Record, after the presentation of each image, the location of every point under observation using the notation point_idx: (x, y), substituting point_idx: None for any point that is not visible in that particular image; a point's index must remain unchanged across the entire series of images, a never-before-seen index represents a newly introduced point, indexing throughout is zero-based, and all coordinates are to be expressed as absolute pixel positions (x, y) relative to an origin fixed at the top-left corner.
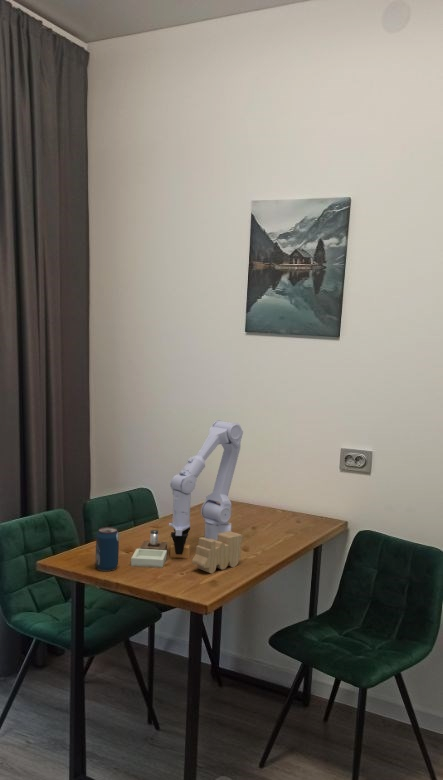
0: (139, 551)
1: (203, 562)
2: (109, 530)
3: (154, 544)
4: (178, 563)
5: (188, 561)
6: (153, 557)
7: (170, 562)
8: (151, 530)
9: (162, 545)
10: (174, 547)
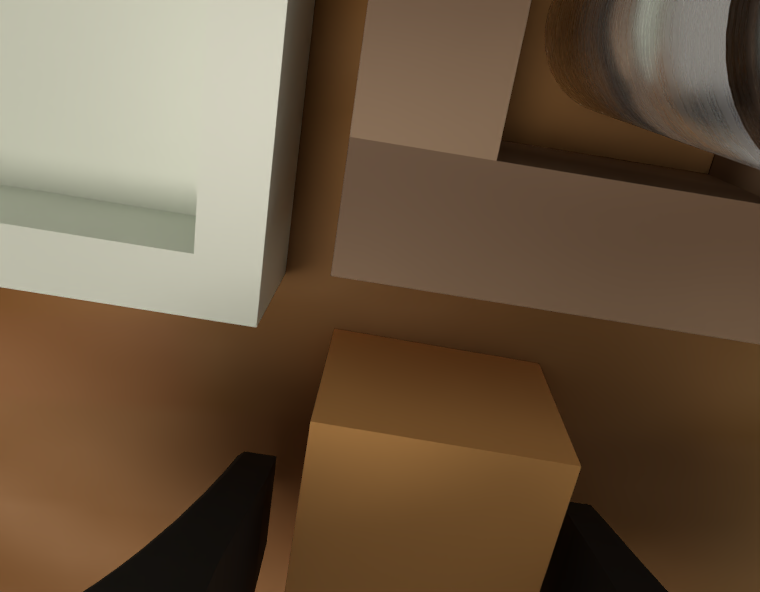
0: None
1: None
2: None
3: (590, 37)
4: (27, 431)
5: None
6: (156, 18)
7: (50, 321)
8: None
9: (613, 244)
10: (301, 493)
